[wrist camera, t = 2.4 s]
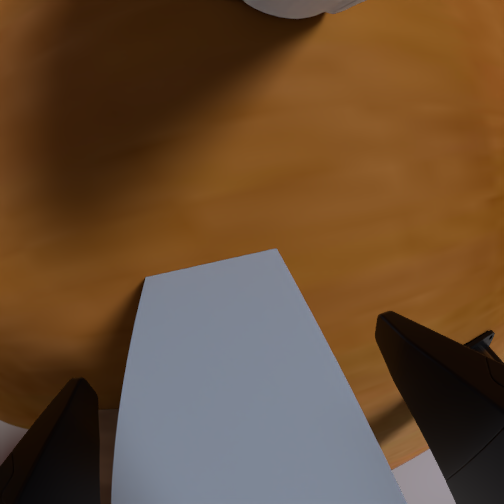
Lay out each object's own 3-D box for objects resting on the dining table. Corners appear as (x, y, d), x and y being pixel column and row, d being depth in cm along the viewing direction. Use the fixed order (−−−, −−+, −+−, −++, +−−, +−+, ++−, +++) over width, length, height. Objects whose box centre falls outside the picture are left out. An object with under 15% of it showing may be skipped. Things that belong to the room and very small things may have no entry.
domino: (166, 404, 14) (176, 576, 5) (178, 421, 15) (192, 576, 6) (91, 410, 14) (77, 560, 5) (107, 426, 15) (100, 565, 6)
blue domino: (276, 248, 11) (420, 533, 2) (282, 291, 12) (390, 542, 3) (145, 277, 11) (113, 579, 2) (162, 317, 12) (160, 582, 3)
